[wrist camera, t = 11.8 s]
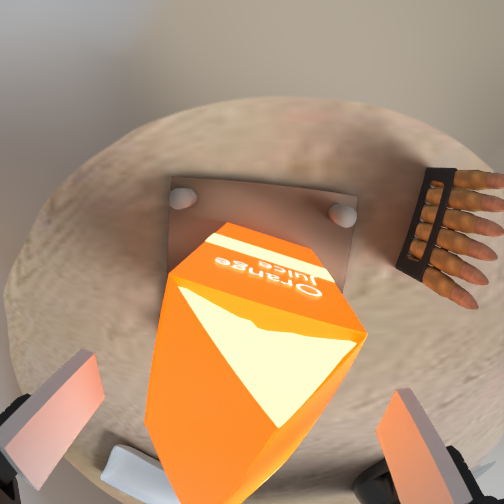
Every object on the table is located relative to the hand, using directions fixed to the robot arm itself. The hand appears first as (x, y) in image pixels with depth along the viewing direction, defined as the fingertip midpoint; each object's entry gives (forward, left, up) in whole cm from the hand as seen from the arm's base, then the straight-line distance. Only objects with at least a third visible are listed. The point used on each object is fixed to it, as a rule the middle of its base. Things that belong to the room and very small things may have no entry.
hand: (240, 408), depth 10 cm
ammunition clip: (+8, -15, -17) cm, 24 cm away
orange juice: (0, 0, -15) cm, 15 cm away
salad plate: (-43, +13, -17) cm, 48 cm away
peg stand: (0, 0, -16) cm, 16 cm away
